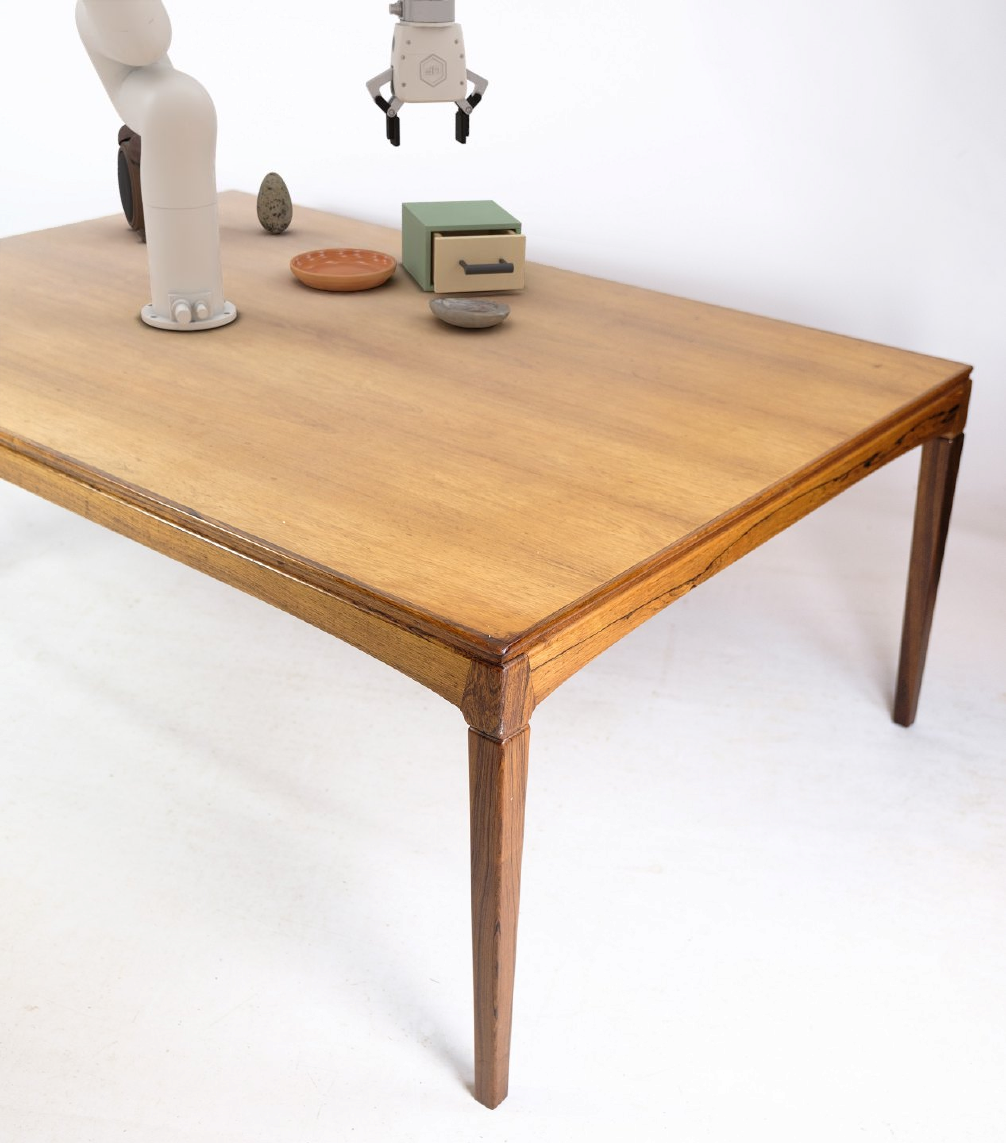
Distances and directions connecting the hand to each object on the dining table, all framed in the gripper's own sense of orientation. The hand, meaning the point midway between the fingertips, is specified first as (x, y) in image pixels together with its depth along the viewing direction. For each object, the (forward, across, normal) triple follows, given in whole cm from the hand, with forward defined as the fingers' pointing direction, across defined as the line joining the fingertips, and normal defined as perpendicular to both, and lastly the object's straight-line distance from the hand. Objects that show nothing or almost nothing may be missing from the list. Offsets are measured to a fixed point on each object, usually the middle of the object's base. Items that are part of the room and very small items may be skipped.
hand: (428, 143), depth 183 cm
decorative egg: (+21, -17, +38) cm, 46 cm away
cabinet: (+21, +6, +6) cm, 23 cm away
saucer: (+21, -12, +6) cm, 25 cm away
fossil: (+21, +1, -18) cm, 28 cm away
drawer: (+20, +6, -1) cm, 21 cm away
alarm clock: (+20, -38, +39) cm, 58 cm away
